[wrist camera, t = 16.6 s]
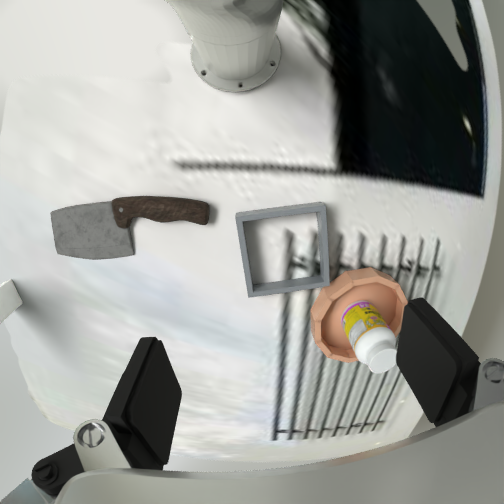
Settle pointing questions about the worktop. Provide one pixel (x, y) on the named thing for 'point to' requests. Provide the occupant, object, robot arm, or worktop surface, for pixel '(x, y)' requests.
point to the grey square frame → (294, 283)
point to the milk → (8, 299)
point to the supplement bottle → (369, 336)
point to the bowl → (342, 295)
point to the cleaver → (116, 223)
